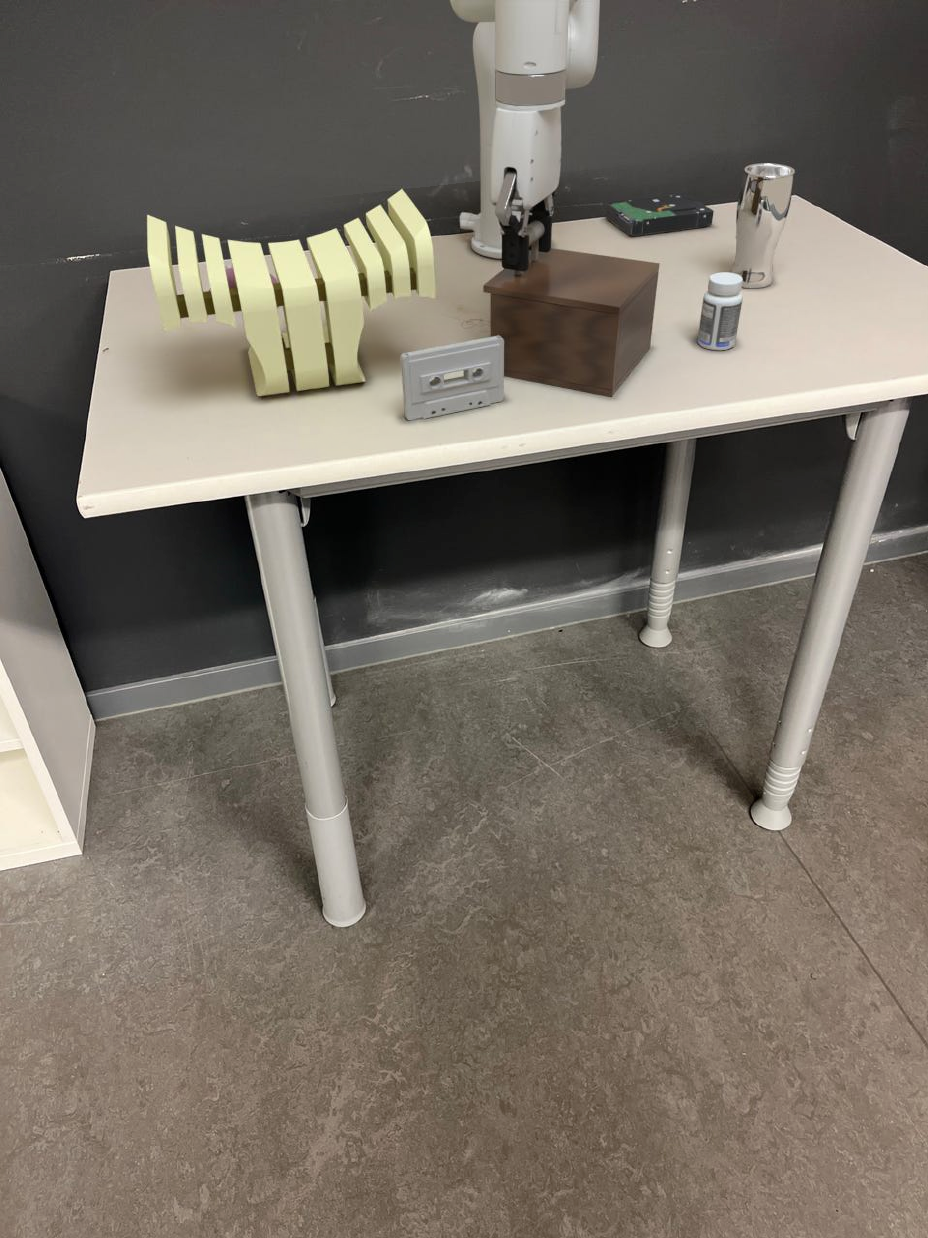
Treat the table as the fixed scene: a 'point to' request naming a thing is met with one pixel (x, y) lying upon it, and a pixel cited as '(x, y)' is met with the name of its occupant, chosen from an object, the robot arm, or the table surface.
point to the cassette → (454, 392)
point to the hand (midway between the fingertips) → (526, 258)
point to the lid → (573, 278)
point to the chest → (573, 341)
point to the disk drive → (659, 214)
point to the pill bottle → (720, 311)
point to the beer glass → (761, 220)
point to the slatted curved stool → (298, 291)
